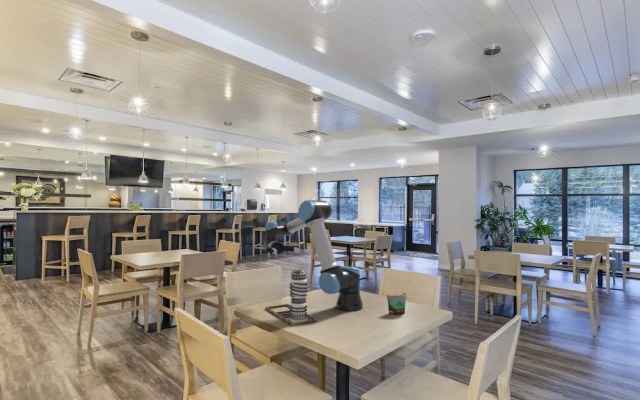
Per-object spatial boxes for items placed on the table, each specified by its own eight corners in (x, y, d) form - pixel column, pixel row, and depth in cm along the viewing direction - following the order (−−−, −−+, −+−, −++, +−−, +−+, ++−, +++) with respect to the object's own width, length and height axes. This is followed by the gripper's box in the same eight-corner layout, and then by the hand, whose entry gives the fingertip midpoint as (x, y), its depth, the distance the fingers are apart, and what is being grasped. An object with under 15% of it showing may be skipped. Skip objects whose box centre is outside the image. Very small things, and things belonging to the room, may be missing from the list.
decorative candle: (311, 319, 178) (311, 269, 179) (298, 323, 172) (298, 272, 172) (298, 315, 185) (299, 267, 185) (285, 319, 178) (286, 269, 178)
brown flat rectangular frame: (265, 308, 198) (265, 307, 198) (288, 305, 205) (288, 303, 205) (291, 326, 169) (291, 324, 169) (317, 321, 176) (317, 319, 176)
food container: (393, 316, 185) (393, 297, 185) (386, 313, 190) (386, 295, 190) (412, 313, 190) (412, 295, 191) (404, 310, 196) (404, 292, 196)
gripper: (294, 252, 226) (307, 256, 207) (256, 254, 215) (266, 259, 196) (294, 240, 226) (307, 243, 207) (256, 242, 215) (266, 245, 196)
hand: (287, 251), depth 201 cm, fingers open, 13 cm apart
